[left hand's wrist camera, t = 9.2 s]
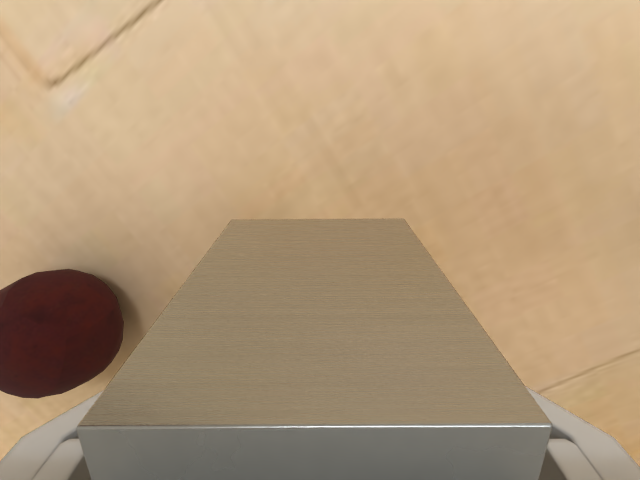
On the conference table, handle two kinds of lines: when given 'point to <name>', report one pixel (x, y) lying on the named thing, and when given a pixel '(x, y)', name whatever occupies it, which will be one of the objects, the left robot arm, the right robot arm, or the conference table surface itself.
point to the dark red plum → (56, 332)
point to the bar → (315, 369)
